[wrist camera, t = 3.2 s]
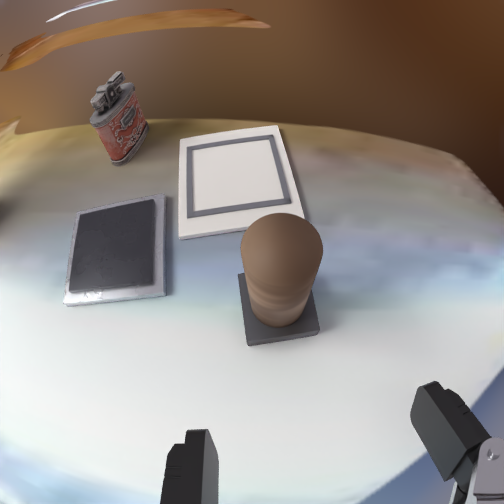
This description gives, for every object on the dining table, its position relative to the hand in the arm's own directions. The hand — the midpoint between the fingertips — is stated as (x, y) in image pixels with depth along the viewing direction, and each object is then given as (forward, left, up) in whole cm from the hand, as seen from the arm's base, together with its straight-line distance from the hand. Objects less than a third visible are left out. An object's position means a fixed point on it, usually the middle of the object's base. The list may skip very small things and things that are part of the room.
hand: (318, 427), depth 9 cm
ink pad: (-15, +17, -13) cm, 26 cm away
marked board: (-2, +24, -13) cm, 27 cm away
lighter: (-15, +33, -13) cm, 38 cm away
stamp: (0, +9, -13) cm, 16 cm away
